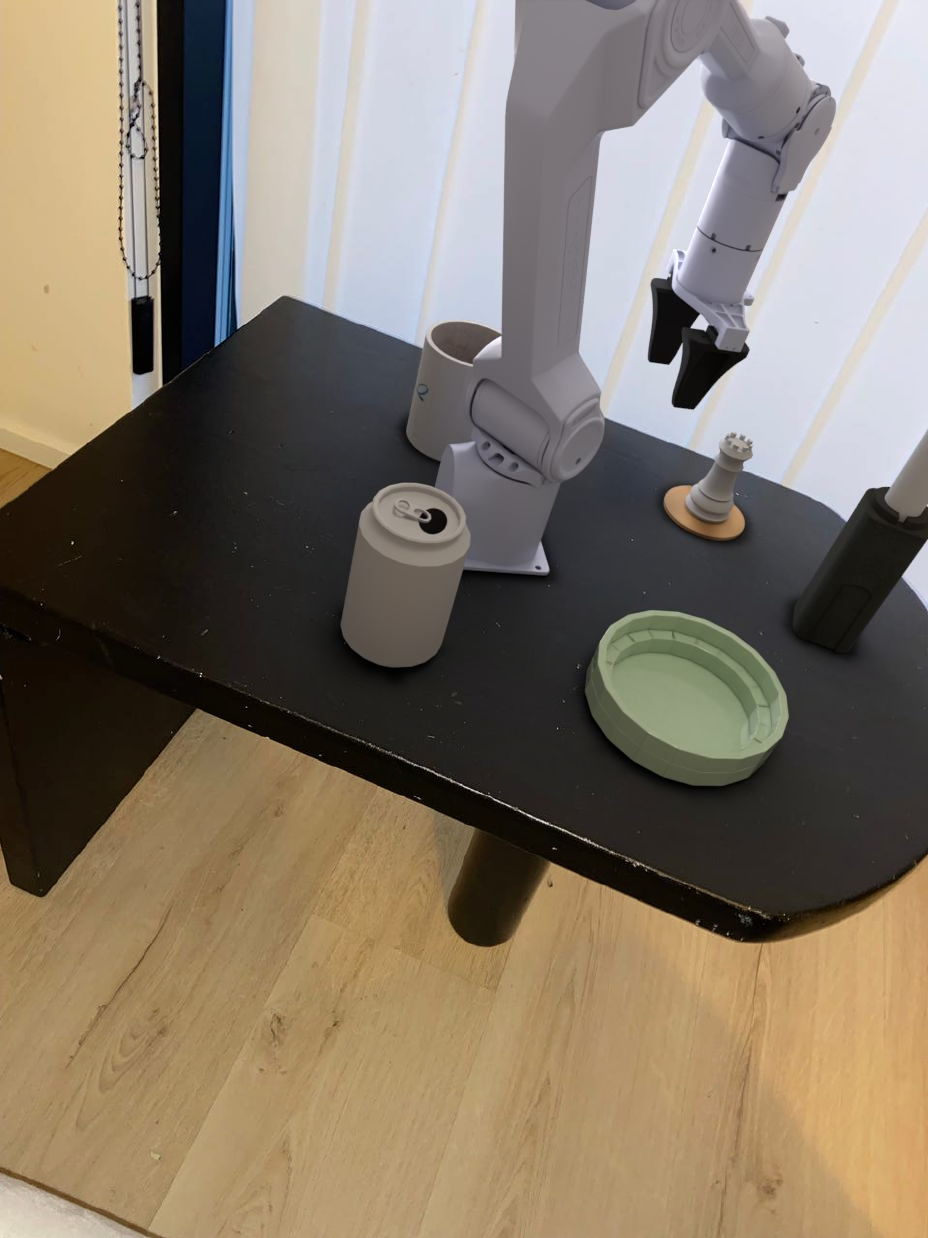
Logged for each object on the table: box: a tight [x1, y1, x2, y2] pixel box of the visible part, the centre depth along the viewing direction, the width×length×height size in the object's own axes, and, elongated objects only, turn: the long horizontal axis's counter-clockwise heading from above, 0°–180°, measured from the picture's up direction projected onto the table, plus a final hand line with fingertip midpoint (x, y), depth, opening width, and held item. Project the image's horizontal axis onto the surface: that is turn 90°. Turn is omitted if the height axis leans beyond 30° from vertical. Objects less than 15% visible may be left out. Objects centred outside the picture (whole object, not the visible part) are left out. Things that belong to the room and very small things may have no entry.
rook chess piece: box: [685, 431, 754, 523], centre depth 88 cm, size 4×4×8 cm
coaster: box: [663, 484, 746, 542], centre depth 90 cm, size 8×8×1 cm
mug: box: [406, 318, 502, 462], centre depth 88 cm, size 12×9×10 cm
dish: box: [584, 609, 790, 787], centre depth 69 cm, size 14×14×4 cm
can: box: [340, 482, 471, 668], centre depth 65 cm, size 8×8×12 cm
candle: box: [791, 429, 928, 654], centre depth 73 cm, size 5×5×25 cm
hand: (670, 383), depth 86 cm, fingers open, 7 cm apart
